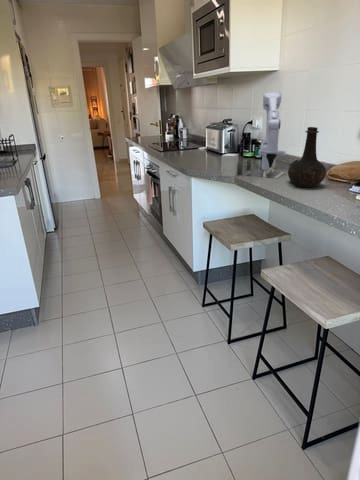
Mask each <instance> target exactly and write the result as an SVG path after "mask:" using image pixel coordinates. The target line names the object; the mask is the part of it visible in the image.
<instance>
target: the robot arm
mask: <svg viewBox="0 0 360 480" xmlns="http://www.w3.org/2000/svg"><path fill="white" fill-rule="evenodd" d="M281 103H282V93H281V91H278V92H264V93H263V97H262V108H263V110H264V111H266V124H265V128H266V129H265V131H266V132H265V138H264V139H263V140H262V141H261V143H260V149H258V152H257V153H258V155H261V156H262V157H261V158H262V159H261V169H262V170H263V171H268V170H269V169H270V168H271V167H272V166H273V165H274V166H275V167H274V169H275V168H276V157H277V156H285V155H286V153H287V151H285V150H279V146H278V145H279V134H280V130H281V125H282V124H281V123H282V121H281V118H280V112H279V108H280V106H281Z"/></svg>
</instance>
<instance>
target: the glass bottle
mask: <svg viewBox="0 0 360 480" xmlns="http://www.w3.org/2000/svg"><path fill="white" fill-rule="evenodd" d="M305 133H306V139H305V145H304V149H303V153H302V156H301V158H300V159H299V160H298V159H295V160H294V161H293V162H291V164H290V165H289V167H288V170H287V175H288V179H289V180H290V182H291V183H292V184H294V185H295V186H296V187H301V188H313V187H317V186H318V185H319V184H321V183H322V182H323V181H324V180H325V177H326V175H327V170H326V166H325V165H324V164H323V163H321V162H320V161H319V160H318V157H317V136H318V134H319V133H320V131H318V127H314V126H307V130H306V131H305Z"/></svg>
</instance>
